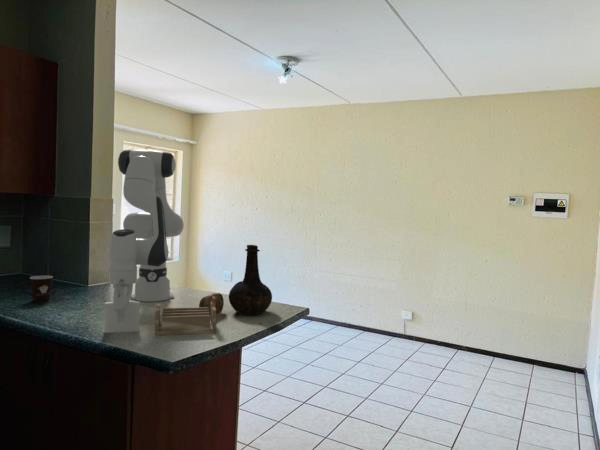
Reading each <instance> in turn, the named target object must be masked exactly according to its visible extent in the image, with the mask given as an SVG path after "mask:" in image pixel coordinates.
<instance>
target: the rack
mask: <svg viewBox="0 0 600 450" xmlns="http://www.w3.org/2000/svg"><path fill="white" fill-rule="evenodd" d="M154 315H155V322H154V335H155V336H170V335H173V336H175V335H195V334H196V335H197V334H198V335H199V334H216V333H217V332H216V331H217V315H216V308H215V296H214V297H212V302H211V314H210V315H209V310H208V307H199V306H198V307H174V308H173V307H166V308H165V307H164V308H163V307H162V313H161V302H157V303H156V307H155V314H154Z"/></svg>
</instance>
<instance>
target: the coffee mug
mask: <svg viewBox="0 0 600 450" xmlns="http://www.w3.org/2000/svg"><path fill="white" fill-rule="evenodd" d="M53 280H54V276H52V275H35V276H30V277H29V281H23V282H21V283H20V285H19V289H20V290H21V291H22V292H24V293H26V294H28V295H30V297H31V298H32V302H33V301H37V302H36V303H43V302H42V301H46V302H48V300H49V301H51V295H52V294H51V293H52V286H53ZM23 284H28V285H29V287H30V290H31V293H30V292H29V291H26V290H24V289H23V288H22V285H23Z"/></svg>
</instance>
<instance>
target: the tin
mask: <svg viewBox="0 0 600 450" xmlns="http://www.w3.org/2000/svg"><path fill="white" fill-rule="evenodd" d="M214 296H215V308H216V316H217V315H220V314H221V313H222V311H223V309H224V304H225V302H224V296H223V295H222V293H219V292H218V293H217V292H214V293H211V294H208V295H206V296H203V297H202V298H200V301H199V304H198V308H199V307H208V310H209V315H210V314H211V302H212V297H214Z"/></svg>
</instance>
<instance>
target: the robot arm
mask: <svg viewBox="0 0 600 450" xmlns="http://www.w3.org/2000/svg"><path fill="white" fill-rule="evenodd" d="M117 159H118V160H117V165H118V169H119V172H121V174H122V175H124V182H123V189H122V190H123V193H122V194H123V197H124V198H125V200H126V201H127V203H129V204H130V205H131V206H132V207H135V208H137V209H139V210H142V211H144V212H133V213H132V212H131V213H128V214H127V215H126V216H125V218H124V219H123V224H122V225H123V229H118V230H114V231H113V232H112V234H111V237H110V242H109V252H108V253H109V260H110V265H109V268H108V273H109V274H108V283H109V284H110V285H112V289H113V295H112V296H113V299H112V302H113V310H114V311H117V316H118V322H123V321H124V310H125V309H126V307H127V305H128V302H131V300H136V301H140V302H163V301H166V300H171V299H175V295H174V294H173V293H172V292H171V285H170V284H171V283H170V282H171V280H170V279H169V278H168V277H167V272H168V267H167V261H168V258H169V246H168V242H167V238H172V237H178V236H180V235H181V233H182V232H183V230H184V221H183V218H182V217H181V215H179V214H178V213H177V212H175V211H174V210H173V209H172V207H171V206H170V205H169V202H168V199H167V190H166V189H167V188H166V187H167V185H166V178H170V177H171V176H173V175H174V172H175V170H176V166H177V164H176V163H177V162H176V160H175V156H174V155H173V154H172V153H171V152H168V151H161V150H156V149H155V150H154V149H124V150H122V151H121V152H120V153H119V156H118V158H117ZM137 266H139V267H137ZM134 284H135V285H134ZM133 288H134V294H133Z"/></svg>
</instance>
